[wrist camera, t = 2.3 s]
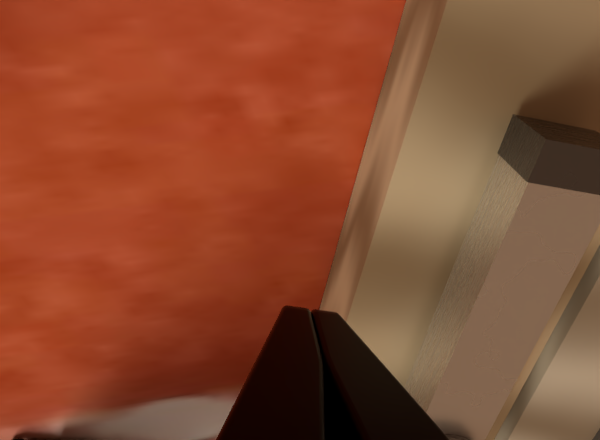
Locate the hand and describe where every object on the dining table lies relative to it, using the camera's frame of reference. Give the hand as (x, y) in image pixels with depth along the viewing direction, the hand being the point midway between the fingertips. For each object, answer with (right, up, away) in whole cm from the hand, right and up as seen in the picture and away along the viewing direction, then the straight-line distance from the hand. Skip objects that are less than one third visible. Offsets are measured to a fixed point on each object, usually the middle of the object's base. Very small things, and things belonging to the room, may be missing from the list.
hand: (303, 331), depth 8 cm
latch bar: (+6, -1, +10) cm, 12 cm away
